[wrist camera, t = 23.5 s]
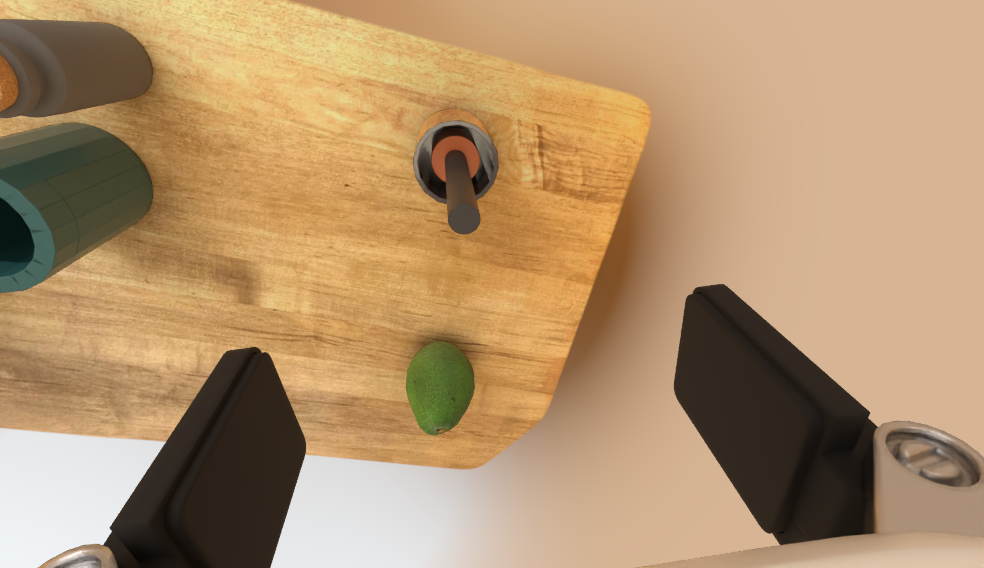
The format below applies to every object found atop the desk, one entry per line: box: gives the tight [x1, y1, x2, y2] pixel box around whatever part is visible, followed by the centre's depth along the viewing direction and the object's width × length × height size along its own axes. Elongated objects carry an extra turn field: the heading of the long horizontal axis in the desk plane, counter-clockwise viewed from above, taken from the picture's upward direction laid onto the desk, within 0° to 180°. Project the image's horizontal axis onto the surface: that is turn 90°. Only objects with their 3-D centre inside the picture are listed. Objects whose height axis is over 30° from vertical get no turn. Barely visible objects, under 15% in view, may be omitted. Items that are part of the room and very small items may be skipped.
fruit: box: [406, 341, 475, 435], centre depth 52 cm, size 8×8×12 cm
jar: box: [0, 123, 153, 293], centre depth 37 cm, size 10×10×13 cm
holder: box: [413, 109, 499, 204], centre depth 42 cm, size 7×7×7 cm
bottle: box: [0, 19, 152, 118], centre depth 32 cm, size 6×6×15 cm
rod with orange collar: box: [431, 128, 480, 234], centre depth 36 cm, size 4×4×19 cm
